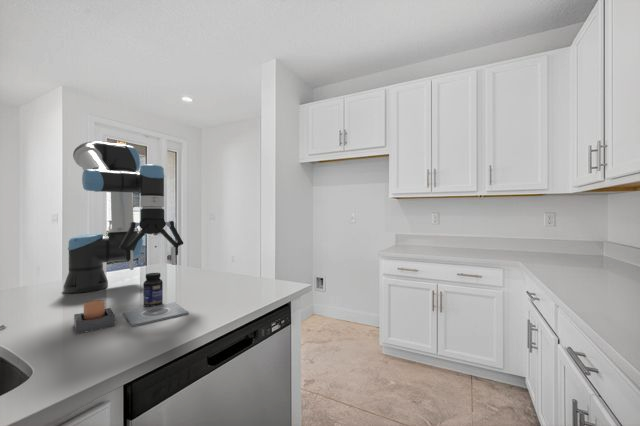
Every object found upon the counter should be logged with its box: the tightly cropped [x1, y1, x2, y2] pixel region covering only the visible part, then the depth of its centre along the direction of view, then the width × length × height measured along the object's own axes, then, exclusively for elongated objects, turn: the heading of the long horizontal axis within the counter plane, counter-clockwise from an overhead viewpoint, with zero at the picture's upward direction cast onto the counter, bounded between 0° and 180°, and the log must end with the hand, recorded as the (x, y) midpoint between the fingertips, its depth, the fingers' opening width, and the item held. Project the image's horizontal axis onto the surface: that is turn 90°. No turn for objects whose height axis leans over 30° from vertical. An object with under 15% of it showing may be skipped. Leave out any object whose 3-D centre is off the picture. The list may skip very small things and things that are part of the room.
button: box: [83, 299, 106, 320], centre depth 89 cm, size 5×5×5 cm
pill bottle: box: [142, 272, 164, 307], centre depth 108 cm, size 6×6×11 cm
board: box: [122, 301, 189, 327], centre depth 98 cm, size 14×16×1 cm
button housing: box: [73, 307, 116, 335], centre depth 89 cm, size 9×9×3 cm
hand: (153, 266), depth 108 cm, fingers open, 13 cm apart
